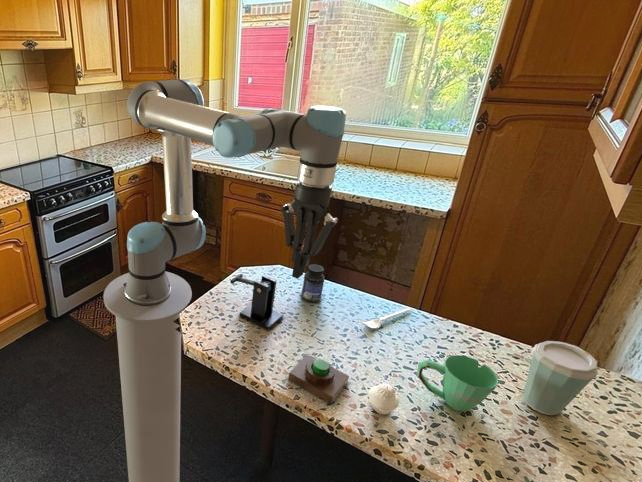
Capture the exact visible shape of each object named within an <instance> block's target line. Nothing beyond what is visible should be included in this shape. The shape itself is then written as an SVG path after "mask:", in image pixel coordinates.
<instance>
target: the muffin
mask: <svg viewBox="0 0 642 482" xmlns="http://www.w3.org/2000/svg"><path fill="white" fill-rule="evenodd" d="M368 399H369V403H370V405H371V408H372V409H373V411H374V412H376V413H377V414H379V415H388V414H390V413H391V412H393V411H395V410H396V409H397V408H398V406H399V404H400V399H399V396H398V394H397V393H396V391H395V388H394V387H393V386H392V385H390V384H389V383H384V382H382V383H378V385H374V386H372V387H370V389H369V390H368Z"/></svg>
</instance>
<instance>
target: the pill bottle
mask: <svg viewBox="0 0 642 482" xmlns="http://www.w3.org/2000/svg"><path fill="white" fill-rule="evenodd" d="M307 266H308V267H307V271H306V272H305V273H304V274H303V275H304V277H303V281H302V287H301V293H300V294H301V295H300V296H301V297H302V299H303V300H305V301H307V302H310V303H318V302H319V301H321V299H322V294H323V289H324V284H325V279H326V278H325V275H324V270H325V268H324V267H323V266H322V265H319V264H313V263H312V264H308V265H307Z"/></svg>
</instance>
